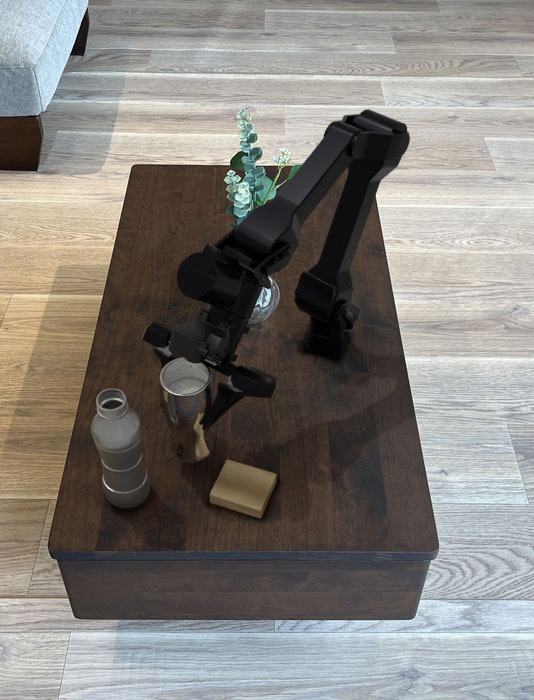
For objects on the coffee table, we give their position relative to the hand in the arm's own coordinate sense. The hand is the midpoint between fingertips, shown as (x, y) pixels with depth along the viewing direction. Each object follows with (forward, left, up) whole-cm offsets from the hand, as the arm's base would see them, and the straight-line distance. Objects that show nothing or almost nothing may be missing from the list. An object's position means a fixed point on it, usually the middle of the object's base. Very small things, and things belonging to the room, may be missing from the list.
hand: (183, 418), depth 106 cm
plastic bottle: (+7, -6, -11) cm, 15 cm away
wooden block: (+1, +9, -11) cm, 14 cm away
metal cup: (-2, 0, -8) cm, 8 cm away
